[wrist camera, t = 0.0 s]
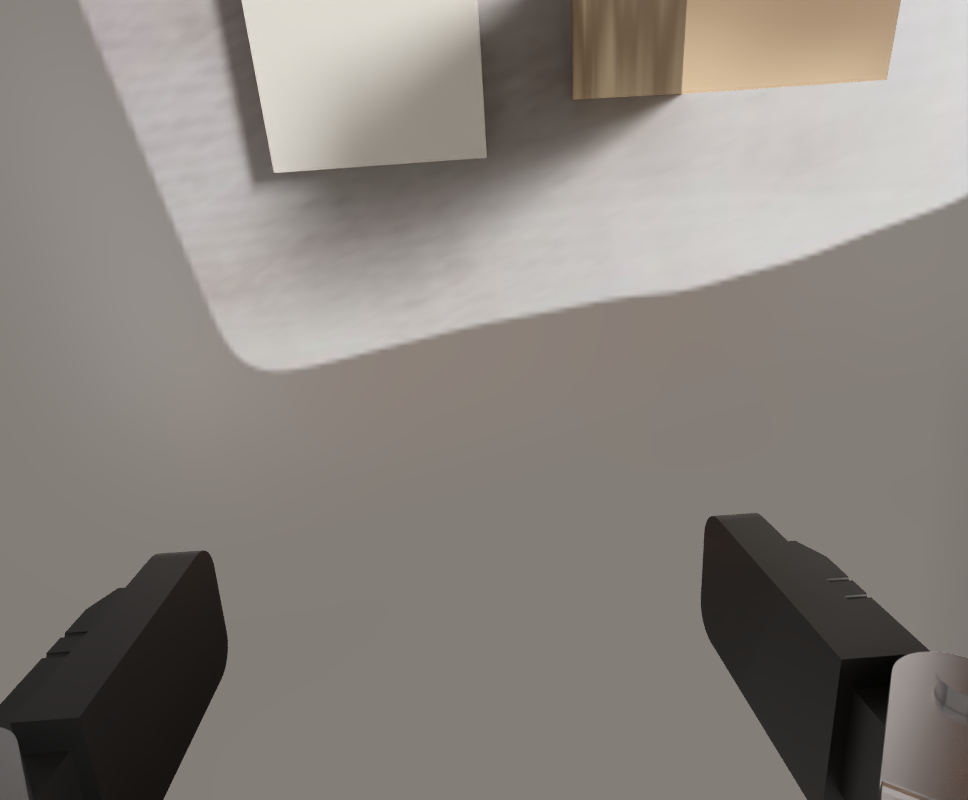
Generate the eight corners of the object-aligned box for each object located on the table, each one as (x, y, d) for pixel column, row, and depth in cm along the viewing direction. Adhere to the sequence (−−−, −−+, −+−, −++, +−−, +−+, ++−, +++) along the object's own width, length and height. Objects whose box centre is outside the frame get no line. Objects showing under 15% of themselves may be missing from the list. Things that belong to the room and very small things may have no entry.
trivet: (236, -78, 25) (224, -89, 23) (470, -92, 25) (472, -103, 24) (281, 169, 29) (273, 173, 27) (484, 155, 29) (486, 157, 27)
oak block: (572, -37, 26) (696, -174, 13) (694, -45, 26) (933, -188, 13) (572, 99, 28) (681, 93, 15) (686, 91, 28) (886, 79, 16)
